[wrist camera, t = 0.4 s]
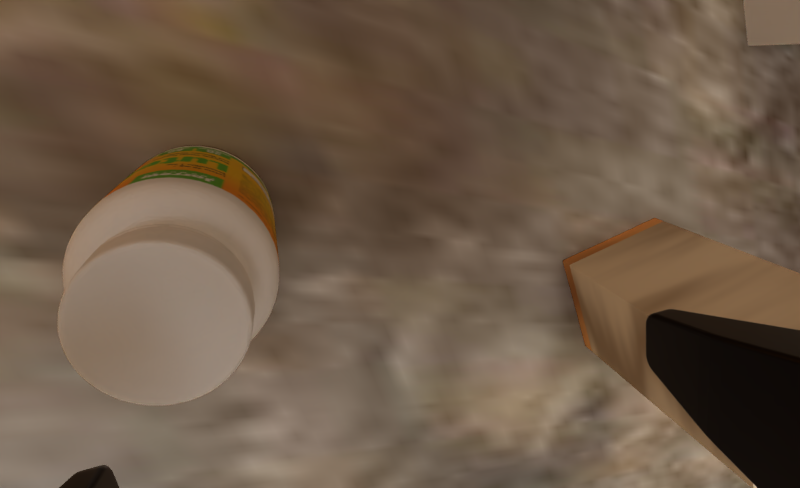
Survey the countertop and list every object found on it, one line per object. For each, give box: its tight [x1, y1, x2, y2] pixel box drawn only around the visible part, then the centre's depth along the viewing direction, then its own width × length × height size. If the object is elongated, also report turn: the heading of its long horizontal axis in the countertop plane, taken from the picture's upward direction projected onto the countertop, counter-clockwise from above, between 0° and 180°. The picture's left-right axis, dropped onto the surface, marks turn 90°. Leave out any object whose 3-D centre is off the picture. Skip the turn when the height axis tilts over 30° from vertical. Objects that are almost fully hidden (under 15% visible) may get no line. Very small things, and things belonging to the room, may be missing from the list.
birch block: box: [563, 218, 800, 488], centre depth 22 cm, size 5×5×10 cm
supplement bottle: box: [57, 146, 279, 406], centre depth 16 cm, size 5×5×10 cm
